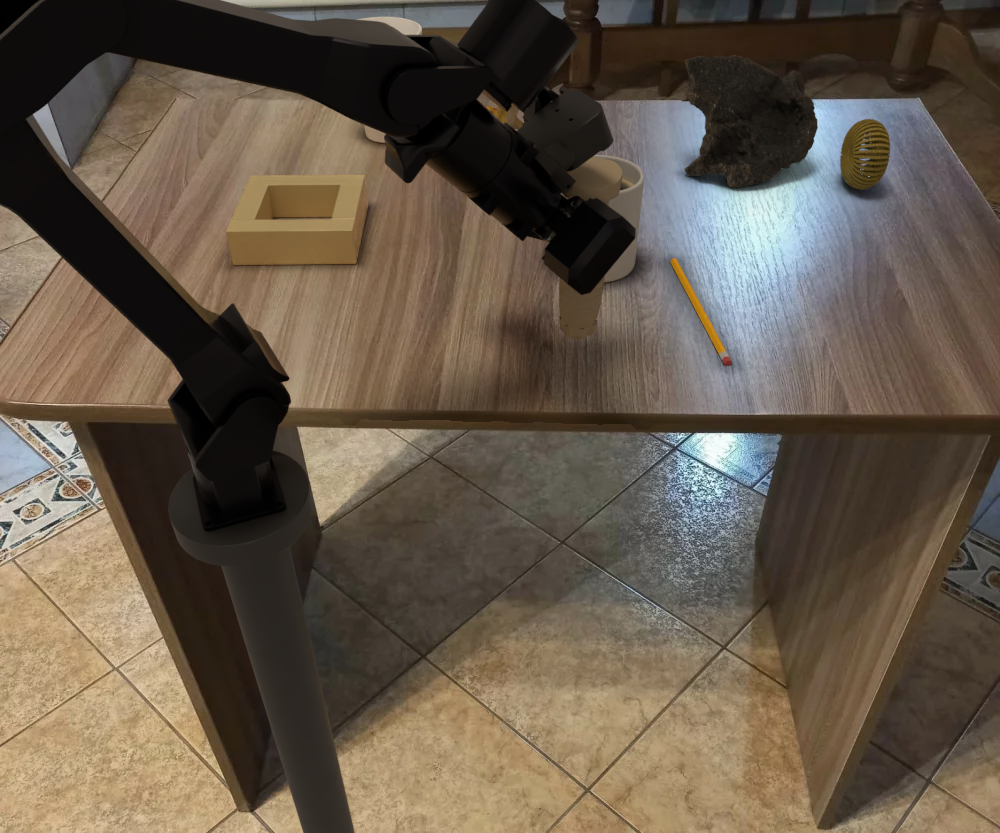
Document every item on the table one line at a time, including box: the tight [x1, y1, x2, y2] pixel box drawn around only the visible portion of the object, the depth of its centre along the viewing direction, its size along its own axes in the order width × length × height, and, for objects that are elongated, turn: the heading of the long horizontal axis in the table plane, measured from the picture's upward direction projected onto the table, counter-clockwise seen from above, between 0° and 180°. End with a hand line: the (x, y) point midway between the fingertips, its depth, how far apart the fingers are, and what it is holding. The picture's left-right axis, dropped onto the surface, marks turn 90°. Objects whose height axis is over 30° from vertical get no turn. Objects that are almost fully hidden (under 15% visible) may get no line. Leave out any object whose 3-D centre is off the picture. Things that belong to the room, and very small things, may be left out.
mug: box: [561, 154, 645, 283], centre depth 93 cm, size 11×10×10 cm
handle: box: [558, 158, 623, 340], centre depth 77 cm, size 5×6×15 cm
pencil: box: [669, 257, 733, 367], centre depth 88 cm, size 1×18×1 cm, turn 7°
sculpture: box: [839, 118, 891, 190], centre depth 106 cm, size 8×4×8 cm, turn 179°
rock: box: [680, 54, 819, 188], centre depth 111 cm, size 17×12×15 cm
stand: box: [225, 174, 369, 266], centre depth 99 cm, size 13×13×4 cm
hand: (595, 254), depth 77 cm, fingers closed on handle, 3 cm apart
